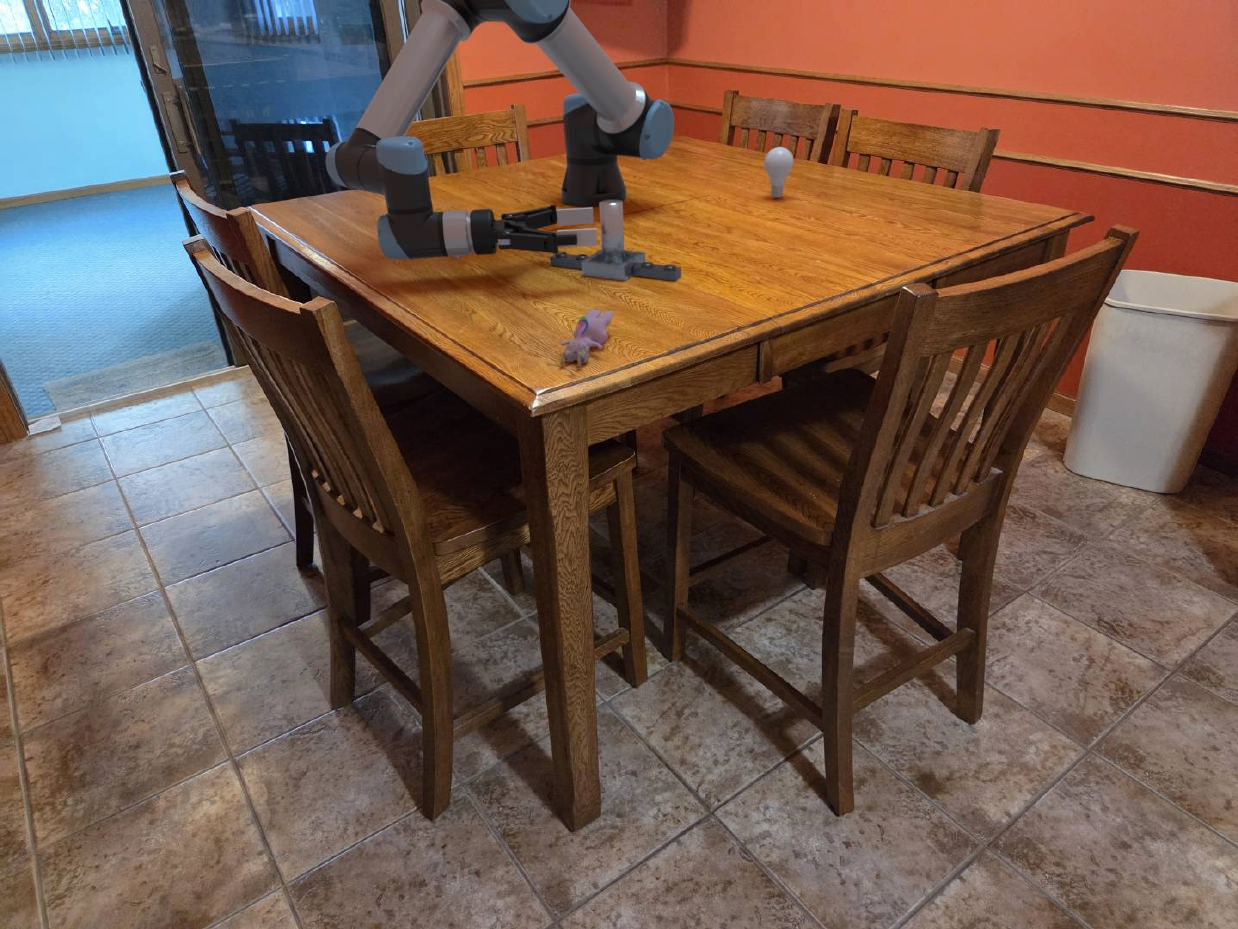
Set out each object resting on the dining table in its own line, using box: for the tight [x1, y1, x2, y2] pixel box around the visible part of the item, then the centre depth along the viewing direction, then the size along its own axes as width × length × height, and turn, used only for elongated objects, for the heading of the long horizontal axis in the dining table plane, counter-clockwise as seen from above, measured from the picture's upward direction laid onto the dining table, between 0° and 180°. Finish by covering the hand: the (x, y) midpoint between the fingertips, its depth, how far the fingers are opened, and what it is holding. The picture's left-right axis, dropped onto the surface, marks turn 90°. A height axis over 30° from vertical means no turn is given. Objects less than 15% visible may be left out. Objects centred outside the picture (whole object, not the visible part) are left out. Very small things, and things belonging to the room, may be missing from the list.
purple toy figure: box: [559, 309, 614, 369], centre depth 115 cm, size 6×6×15 cm
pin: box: [598, 200, 625, 264], centre depth 142 cm, size 4×4×12 cm
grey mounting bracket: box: [549, 248, 682, 282], centre depth 144 cm, size 25×8×2 cm, turn 63°
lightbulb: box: [764, 146, 794, 200], centre depth 181 cm, size 6×6×11 cm
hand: (595, 225), depth 140 cm, fingers open, 13 cm apart
